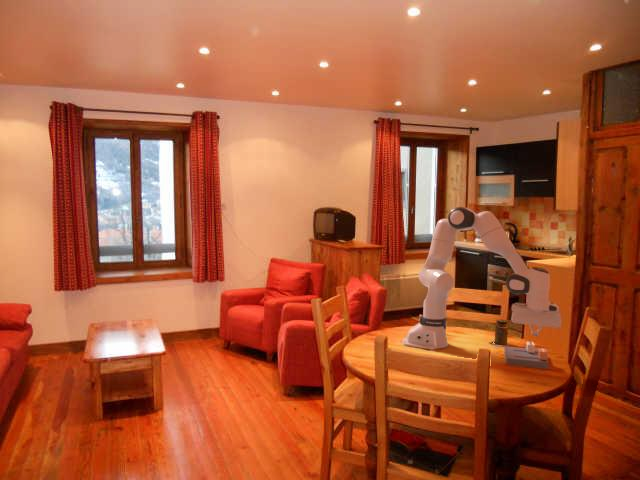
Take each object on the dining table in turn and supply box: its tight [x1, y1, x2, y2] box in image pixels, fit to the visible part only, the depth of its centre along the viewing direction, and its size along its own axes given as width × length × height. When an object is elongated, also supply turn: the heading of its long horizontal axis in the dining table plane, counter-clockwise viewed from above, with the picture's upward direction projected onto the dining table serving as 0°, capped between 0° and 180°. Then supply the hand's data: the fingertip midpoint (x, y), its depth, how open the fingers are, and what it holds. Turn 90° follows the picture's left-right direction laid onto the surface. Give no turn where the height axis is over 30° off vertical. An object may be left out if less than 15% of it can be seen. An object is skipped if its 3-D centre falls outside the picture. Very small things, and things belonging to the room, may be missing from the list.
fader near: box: [538, 348, 548, 360], centre depth 218 cm, size 3×5×4 cm, turn 163°
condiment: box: [488, 319, 511, 348], centre depth 250 cm, size 7×8×12 cm
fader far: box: [525, 341, 536, 353], centre depth 228 cm, size 3×5×4 cm, turn 163°
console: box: [503, 345, 549, 370], centre depth 225 cm, size 17×18×3 cm
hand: (534, 335), depth 218 cm, fingers closed
